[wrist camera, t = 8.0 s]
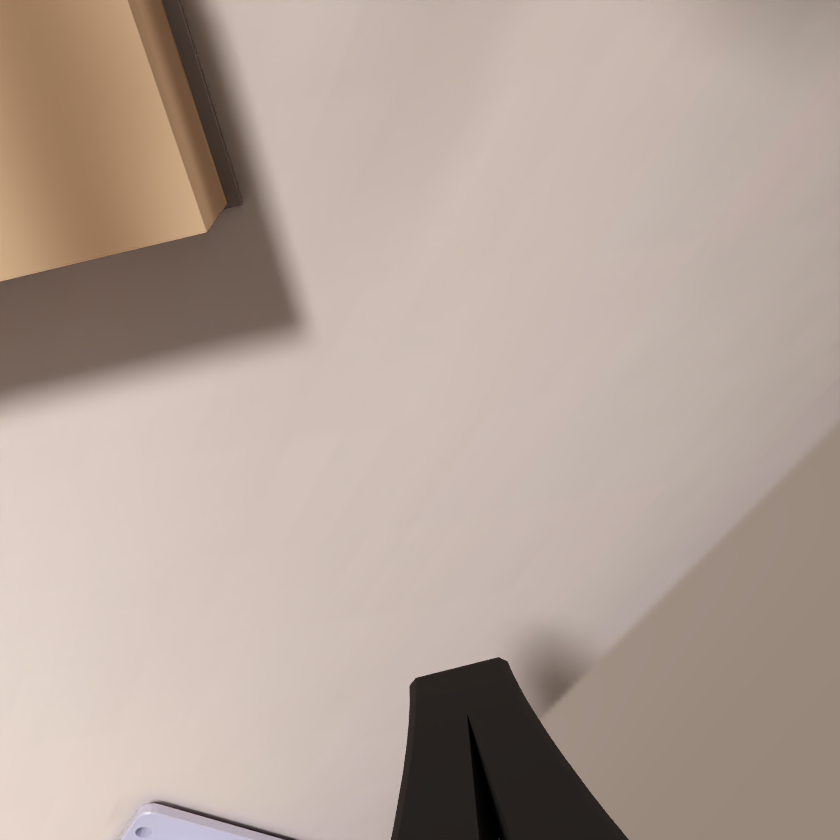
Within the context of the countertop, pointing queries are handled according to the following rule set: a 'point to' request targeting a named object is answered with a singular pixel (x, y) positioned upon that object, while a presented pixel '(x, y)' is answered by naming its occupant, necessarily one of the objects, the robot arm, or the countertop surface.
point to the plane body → (103, 132)
